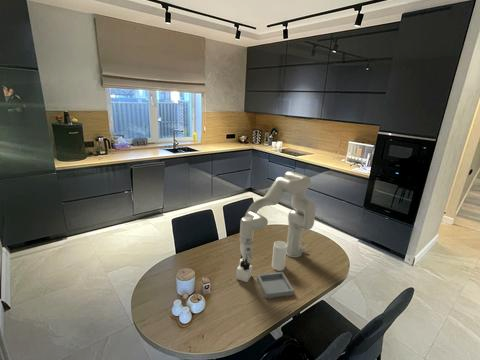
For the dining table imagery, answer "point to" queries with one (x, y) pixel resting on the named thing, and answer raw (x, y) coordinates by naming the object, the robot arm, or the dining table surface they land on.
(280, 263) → the cup
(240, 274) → the medicine bottle
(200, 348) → the dining table surface
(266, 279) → the tray
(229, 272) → the dining table surface
